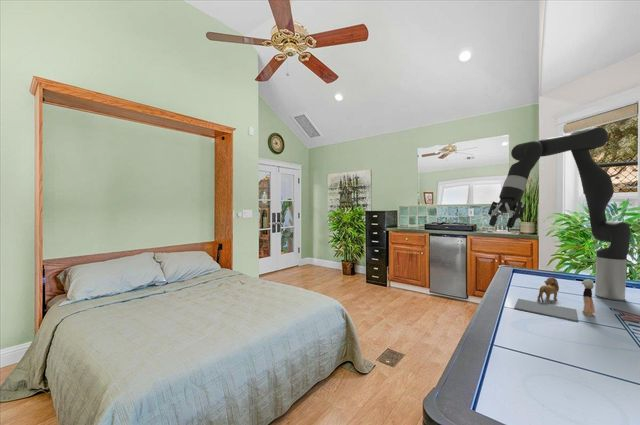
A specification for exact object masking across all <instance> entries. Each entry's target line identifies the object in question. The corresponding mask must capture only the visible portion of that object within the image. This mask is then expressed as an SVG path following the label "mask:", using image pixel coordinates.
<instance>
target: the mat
mask: <svg viewBox="0 0 640 425" xmlns="http://www.w3.org/2000/svg"><path fill="white" fill-rule="evenodd" d="M513 308H514V310H518V311H523V312H528V313H533V314H538V315H542V316H548V317H553V318H556V319H562V320H567V321H572V322H576V323H579V316H578V310H577V309H576V308H570V307H565V306H561V305H560V306H559V305H555V304H551V303H545V302H544V303H542V302H538V301H532V300H529V299H528V300H527V299H523V298H522V299H521V298H517V301H516V303H515V306H514V307H513Z"/></svg>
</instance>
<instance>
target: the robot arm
mask: <svg viewBox="0 0 640 425" xmlns="http://www.w3.org/2000/svg"><path fill="white" fill-rule="evenodd" d="M608 141H609V133H608V131H607V130H606V129H605V128H604V127H601V126H591V127H588V128H584V129H579V130H576V131H573V132H571V133H570V134H566V135H561V136H554V137H547V138H544V139H543V138H542V139H539V140H531V141H526V142H522V143H518V144H516V145H515V146H513V147H512V149H511V152H510V156H511V157H512V158H513V160H515V161H516V162H514V163H513V164H511V165H510V168H509V170H508V172H507V176H506V178H505V180H504V182H503V185H502V188H501V190H500V193H499V196H498V197H499V202H497V201H491V205H490V208H489V209H488V212H487V214H488V215H489V216H490V220H489V226H491V227H495V226H496V223H497V220H498V218H499V217H500V215H503V214H508V215H509V217H508V220H507V223H506V227H507V228H509V229H513V227H514V226H515V223H516V221H517V220H518V219H522V218H523V216H524V212H525V208H526V205H527V204H526V203H525V202H523V201H522V199H523V196H524V193H525V190H526V188H527V184H528V180H529V177H530V175H531V174H530V173H531V171H533V168H534V167H535V166H536V164H538V161H539V160H540V159H541V157H547V156H552V155H557V154H561V153H565V152H571V154H572V157H573V159H574V161H575V165H576V168H577V170H578V174H579V176H580V182H581V187H582V190H583V194H584V196H585V201H586V205H587V208H588V209H587V210H588V215H589V222H590V229H591V234H592V237H593V239H595V240H596V241H600V242H604V243H609V246H608V247H606V248H602V249H598V250H596V253H595V254H596V255H595V285H594V295H595V296H597V297H601V298H604V299H610V300H617V301H625V299H626V289H627V288H626V284H627V283H626V281H627V256H628V254H629V253H630V252H629V251H630V243H631V233H632V232H631V226H630V225H629V224H628V223H626V222H625V221H616V220H615V221H613V220H612V221H610V220H607V217H606V216H607V214H606V209H607V206H608V204H609V203H610V201H611V199H612V198H613V196H614V192H615V189H614V184H613V181H612V177H611V176H610V174H609V173H608V172H607V170H605V169H603V167H601V166H600V165H599V164H598V163H596V162H595V161H594V159H593V157H592V155H591V153H590V151H591V150H597V149H600V148H602V147H603V146H605V145H606V144H607V142H608Z"/></svg>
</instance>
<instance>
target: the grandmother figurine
mask: <svg viewBox="0 0 640 425" xmlns="http://www.w3.org/2000/svg"><path fill="white" fill-rule="evenodd" d="M581 285H583V286H584V290H583V294H582V295H583V296H582V297H583V298H582V299H583V304H584V306H583V310H582V312H581V313H582V315H585V316H589V317H593V316H594V315H593V314H595V313H596V312H595V311H596V310H595V309H596V308H595V304H594V300H593V298H592V297H593V290H592V289H594V288H595V285H594V281H593V279H591V278H587V279H584V280H583V281H582V282H581Z"/></svg>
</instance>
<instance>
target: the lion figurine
mask: <svg viewBox="0 0 640 425" xmlns="http://www.w3.org/2000/svg"><path fill="white" fill-rule="evenodd" d="M559 288H560V287H559V282H558V280H557V279H556V277H553V276H549V277H548V278H547V279H546V280H544V284H543V285H541V286H540V288H539V291H538V292H539V293H538V295H537V301H536V302H539V303H545V302H544V301H545V300H544V298H543V294H545V295H546V297H545V299H546V300H547V302H548V304H552V303H553V301H551V300H550V299H551V295H553V300H554V301H558V298H557V297H558V292H559V291H560V290H559Z"/></svg>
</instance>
